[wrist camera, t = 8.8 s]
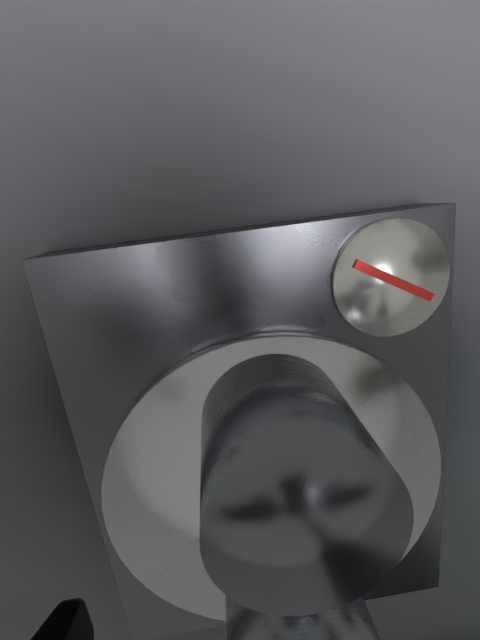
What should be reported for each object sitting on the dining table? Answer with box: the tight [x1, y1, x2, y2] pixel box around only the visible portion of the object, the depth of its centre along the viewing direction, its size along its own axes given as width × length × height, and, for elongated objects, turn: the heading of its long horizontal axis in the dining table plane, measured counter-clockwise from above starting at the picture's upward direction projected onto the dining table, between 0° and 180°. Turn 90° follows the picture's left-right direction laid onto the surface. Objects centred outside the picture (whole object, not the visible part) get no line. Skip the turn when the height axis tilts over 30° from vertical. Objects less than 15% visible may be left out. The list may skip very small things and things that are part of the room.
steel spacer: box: [199, 354, 414, 616], centre depth 11 cm, size 5×5×5 cm
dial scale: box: [22, 203, 456, 640], centre depth 15 cm, size 17×14×3 cm
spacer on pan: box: [225, 595, 380, 640], centre depth 13 cm, size 5×5×5 cm
